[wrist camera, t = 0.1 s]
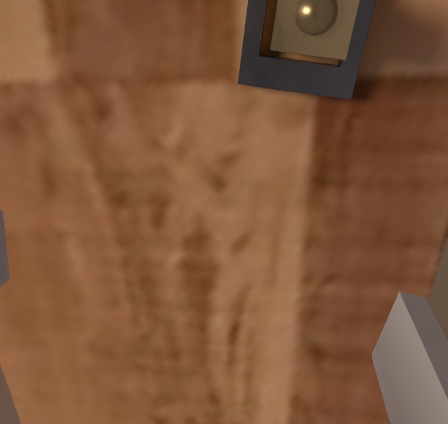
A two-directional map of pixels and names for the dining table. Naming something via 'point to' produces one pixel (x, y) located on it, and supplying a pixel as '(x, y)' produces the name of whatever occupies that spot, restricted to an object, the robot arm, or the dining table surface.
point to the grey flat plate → (298, 69)
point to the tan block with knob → (314, 27)
